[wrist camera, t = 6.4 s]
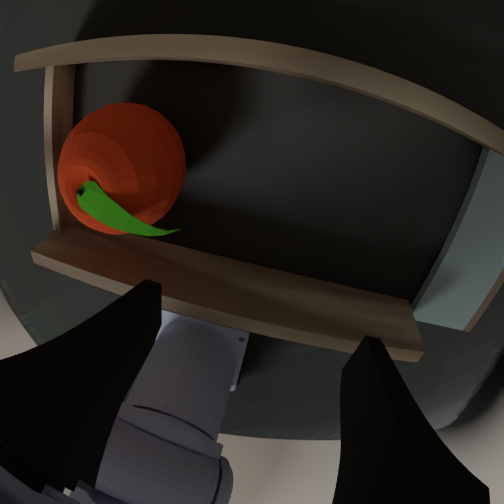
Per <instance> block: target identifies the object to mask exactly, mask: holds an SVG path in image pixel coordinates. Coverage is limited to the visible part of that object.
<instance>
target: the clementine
mask: <svg viewBox="0 0 504 504" xmlns="http://www.w3.org/2000/svg"><path fill="white" fill-rule="evenodd" d="M185 173H186V163H185V151H184V147H183V144H182V141H181V138H180V136H179V134H178V133H177V131H176V129H175V128H174V126H173V125H172V124H171V123H170V122H169V121H168V120H167V119H166V118H165V117H164V116H163V115H162V114H161V113H159V112H158V111H156V110H154V109H152V108H150V107H148V106H146V105H141V104H136V103H124V102H123V103H115V104H109V105H106V106H104V107H102V108H100V109H98V110H96V111H94V112H92V113H90V114H88V115H86V116H85V117H84V118H83V119H82V120H81V121H80V122H79V123H78V124H77V125H76V126H75V127H74V129H73V130H72V131H71V132H70V133H69V135H68V137H67V139H66V141H65V142H64V144H63V147H62V151H61V154H60V159H59V163H58V183H59V188H60V192H61V195H62V197H63V200H64V202H65V204H66V205H67V207H68V208H69V210H70V211H71V213H72V214H73V215H74V216H75V217H76V218H77V219H78V220H79V221H80V222H82V223H83V224H84V225H86V226H87V227H89V228H92V229H94V230H97V231H100V232H103V233H106V234H115V235H121V234H126V233H132V234H137V235H144V236H160V235H166V234H169V233H172V232H175V231H178V230H180V229H174V230H164V229H160V228H156V227H153V226H151V225H152V224H153V223H155V222H156V221H158V220H159V219H161V218H162V217H163V216H164V215H165V214H166V213H167V212H168V211H169V210H170V209H171V207H172V206H173V204H174V202H175V201H176V199H177V197H178V195H179V193H180V191H181V189H182V187H183V183H184V178H185Z"/></svg>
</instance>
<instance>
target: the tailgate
mask: <svg viewBox="0 0 504 504" xmlns="http://www.w3.org/2000/svg"><path fill="white" fill-rule="evenodd" d="M503 282H504V156H502V155H500V154H498V153H496V152H494V151H492V150H490V149H489V148H487V147H484V146H483V149H482V152H481V155H480V158H479V161H478V164H477V167H476V170H475V173H474V176H473V178H472V181H471V184H470V186H469V189H468V191H467V194H466V196H465V199H464V201H463V204H462V206H461V208H460V211H459V213H458V215H457V218H456V220H455V222H454V224H453V227H452V229H451V231H450V233H449V235H448V237H447V239H446V241H445V243H444V245H443V247H442V250H441V251H440V253H439V255H438V257H437V259H436V261H435V263H434V265H433V267H432V269H431V271H430V273H429V274H428V276H427V278H426V280H425V282H424V283H423V285H422V287H421V289H420V290H419V292H418V294H417V296H416V297H415V299H414V301H413V302H412V304H411V309H412V312H413V315H414V318H415V320H417V321H421V322H426V323H431V324H435V325H440V326H444V327H449V328H454V329H459V330H463V331H466V332H470V331H471V329H472V328H473V327H474V325H475V324H476V323H477V321H478V320H479V318H480V317H481V316H482V314H483V313H484V311H485V310H486V308H487V307H488V305H489V304H490V303H491V301H492V299H493V298H494V296H495V295H496V293H497V292H498V290H499V289H500V287H501V285H502V284H503Z"/></svg>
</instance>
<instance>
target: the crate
mask: <svg viewBox="0 0 504 504" xmlns="http://www.w3.org/2000/svg"><path fill="white" fill-rule="evenodd" d="M122 60H172V61H191V62H205V63H215V64H225V65H233V66H241V67H248V68H254V69H261V70H266V71H272V72H277V73H283V74H288V75H292V76H297V77H302V78H306V79H310V80H314V81H318V82H322V83H326V84H330V85H334V86H337V87H341V88H344V89H348V90H351V91H354V92H357V93H361V94H364V95H367V96H370V97H373V98H376V99H379V100H382V101H384V102H387V103H390V104H393V105H395V106H398V107H401V108H403V109H406V110H408V111H411V112H413V113H416V114H418V115H420V116H423V117H425V118H427V119H430V120H432V121H434V122H436V123H439V124H441V125H443V126H445V127H447V128H449V129H451V130H453V131H455V132H457V133H459V134H461V135H463V136H465V137H467V138H469V139H471V140H473V141H475V142H477V143H478V144H480V145H482V146H484V147H487V148H489V149H490V150H492V151H494V152H496V153H498V154H500V155H502V156H504V130H502V129H501V128H499V127H497V126H496V125H494V124H493V123H491V122H489V121H488V120H486V119H484V118H483V117H481V116H479V115H477V114H476V113H474V112H472V111H470V110H469V109H467V108H465V107H463V106H461V105H459V104H457V103H455V102H453V101H452V100H450V99H448V98H445V97H443V96H441V95H439V94H437V93H435V92H433V91H431V90H429V89H426V88H424V87H422V86H420V85H417V84H415V83H412V82H410V81H408V80H405V79H403V78H400V77H398V76H395V75H392V74H390V73H387V72H384V71H381V70H379V69H376V68H373V67H370V66H367V65H364V64H361V63H357V62H354V61H351V60H347V59H344V58H340V57H337V56H333V55H329V54H325V53H321V52H317V51H313V50H309V49H304V48H300V47H295V46H290V45H284V44H279V43H273V42H267V41H260V40H253V39H245V38H236V37H226V36H213V35H194V34H148V35H129V36H117V37H107V38H99V39H91V40H84V41H78V42H72V43H66V44H61V45H56V46H52V47H47V48H43V49H39V50H35V51H31V52H27V53H23V54H20V55H16V56H15V63H14V72H17V71H23V70H29V69H36V68H43V67H46V74H45V91H44V145H45V162H46V174H47V184H48V193H49V201H50V208H51V215H52V222H53V227H54V232H53V233H52V234H50V235H49V236H48V237H47V238H45V239H44V240H43V241H42V242H41V243H39V244H38V245H37V246H36V247H35V248H34V249H32V250H31V253H32V257H33V261H34V263H36V264H39V265H41V266H44V267H46V268H49V269H51V270H54V271H56V272H59V273H61V274H64V275H67V276H69V277H72V278H75V279H77V280H80V281H83V282H85V283H88V284H91V285H94V286H97V287H99V288H102V289H105V290H108V291H111V292H114V293H117V294H120V295H124V294H125V293H127V292H128V291H129V290H131V289H132V288H133V287H135V286H136V285H138V284H139V283H140V282H142V281H143V280H145V279H148V280H151V281H154V282H158V283H161V284H162V308H164V309H167V310H171V311H174V312H177V313H181V314H184V315H188V316H191V317H195V318H198V319H202V320H206V321H209V322H213V323H217V324H221V325H225V326H228V327H232V328H236V329H240V330H244V331H249V332H253V333H257V334H261V335H266V336H270V337H274V338H279V339H283V340H288V341H293V342H297V343H302V344H307V345H312V346H317V347H322V348H328V349H333V350H339V351H344V352H350V353H354V351H355V350H356V348H357V347H358V345H359V344H360V342H361V341H362V339H363V338H364V336H365V335H366V336H371V337H376V338H380V339H381V341H382V342H383V344H384V346H385V348H386V349H387V351H388V353H389V355H390V357H391V358H392V359H395V360H402V361H410V362H418V360H419V359H420V358H421V357H422V355H423V354H424V353H425V351H424V347H423V344H422V340H421V337H420V334H419V330H418V327H417V324H416V321H415V318H414V315H413V312H412V309H411V306H410V303H409V300H406V299H401V298H397V297H392V296H388V295H384V294H379V293H375V292H370V291H366V290H362V289H357V288H353V287H349V286H344V285H340V284H336V283H331V282H327V281H323V280H319V279H314V278H310V277H306V276H302V275H297V274H293V273H289V272H285V271H281V270H276V269H272V268H268V267H264V266H260V265H256V264H251V263H247V262H243V261H239V260H235V259H231V258H227V257H223V256H218V255H214V254H210V253H206V252H202V251H198V250H194V249H190V248H186V247H182V246H178V245H174V244H170V243H166V242H162V241H158V240H154V239H150V238H146V237H142V236H138V235H134V234H130V233H126V234H121V235H115V234H106V233H103V232H100V231H97V230H94V229H92V228H89V227H87V226H86V225H84V224H83V223H82V222H80V221H79V220H78V219H77V218H76V217H75V216H74V215H73V214H72V213H71V211H70V210H69V208H68V207H67V205H66V204H65V202H64V200H63V197H62V195H61V192H60V188H59V183H58V163H59V159H60V154H61V151H62V147H63V144H64V142H65V141H66V139H67V137H68V135H69V133H70V132H71V131H72V130H73V97H74V82H75V70H76V64H80V63H90V62H103V61H122Z"/></svg>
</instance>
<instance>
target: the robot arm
mask: <svg viewBox="0 0 504 504" xmlns="http://www.w3.org/2000/svg"><path fill="white" fill-rule="evenodd" d="M249 334H250V333H249V331H244V330H240V329H236V328H232V327H228V326H225V325H221V324H217V323H213V322H209V321H206V320H202V319H198V318H195V317H191V316H188V315H184V314H181V313H177V312H174V311H171V310H167V309H164V308H162V284H161V283H158V282H154V281H151V280H148V279H145V280H143V281H142V282H140V283H139V284H138V285H136V286H135V287H133V288H132V289H131V290H129V291H128V292H127V293H125V294H124V295H122V296H121V297H120V298H118V299H117V300H115V301H114V302H113V303H111V304H110V305H108V306H107V307H105V308H104V309H102V310H101V311H100V312H98V313H97V314H95V315H94V316H92V317H90V318H89V319H87V320H86V321H84V322H82V323H81V324H79V325H78V326H76V327H74V328H73V329H71V330H69V331H67V332H66V333H64V334H62V335H60V336H58V337H56V338H54V339H52V340H50V341H48V342H46V343H44V344H42V345H39V346H37V347H35V348H32V349H30V350H28V351H26V352H23V353H20V354H17V355H14V356H11V357H8V358H5V359H2V360H0V504H228V502H229V500H230V496H231V493H232V487H233V472H232V469H231V467H230V465H229V462H228V460H227V459H226V458H225V457H222V456H221V452H222V448H223V445H222V444H220V443H217V442H216V441H217V437H218V434H219V430H220V426H221V423H222V419H223V415H224V411H225V408H226V404H227V400H228V396H229V392H230V391H234V390H235V387H236V383H237V380H238V376H239V372H240V369H241V365H242V361H243V357H244V354H245V350H246V346H247V342H248V338H249ZM240 337H241V338H240ZM155 340H156V342H155ZM154 342H155V344H154ZM153 344H154V346H153ZM152 347H153V348H152ZM151 349H152V350H151ZM150 351H151V352H150ZM149 352H150V354H149ZM148 354H149V356H148ZM147 356H148V358H147ZM146 358H147V360H146ZM145 360H146V362H145V364H144V366H143V368H142V370H141V372H140V374H139V376H138V378H137V380H136V382H135V384H134V386H133V388H132V390H131V392H130V394H129V396H128V398H127V400H126V402H123V400H124V398H125V396H126V394H127V392H128V390H129V388H130V387H131V385H132V383H133V381H134V379H135V378H136V376H137V374H138V372H139V370H140V369H141V367H142V365H143V363H144V361H145ZM340 419H341V453H340V463H339V471H338V477H337V483H336V488H335V494H334V498H333V503H332V504H490V496H489V488H488V487H487V486H486V485H485V484H484V483H482V482H481V481H480V480H479V479H478V478H477V477H475V476H474V475H473V474H472V473H471V472H470V471H469V470H468V469H467V468H466V467H465V466H464V465H463V464H462V463H461V462H460V461H459V460H458V459H457V458H456V457H455V456H454V455H453V454H452V452H451V451H450V450H449V449H448V447H447V446H446V445H445V444H444V443H443V441H442V440H441V439H440V438H439V436H438V435H437V434H436V432H435V431H434V429H433V428H432V426H431V425H430V424H429V422H428V421H427V419H426V418H425V416H424V415H423V413H422V411H421V410H420V408H419V407H418V405H417V403H416V402H415V400H414V398H413V397H412V395H411V393H410V391H409V390H408V388H407V386H406V384H405V382H404V381H403V379H402V377H401V375H400V373H399V371H398V370H397V368H396V366H395V364H394V362H393V360H392V358H391V357H390V355H389V353H388V351H387V349H386V348H385V346H384V344H383V342H382V341H381V339H380V338H376V337H371V336H366V335H365V336H364V338H363V339H362V341H361V342H360V344H359V345H358V347H357V348H356V350H355V351H354V353H353V354H352V356H351V357H350V359H349V360H348V362H347V363H346V365H345V366H344V367H343V369H342V377H341V387H340ZM65 487H66V488H67V489H69V490H70V491H71V492H70V495H69V496H67V495H65V494H63V491H64V489H65Z"/></svg>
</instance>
